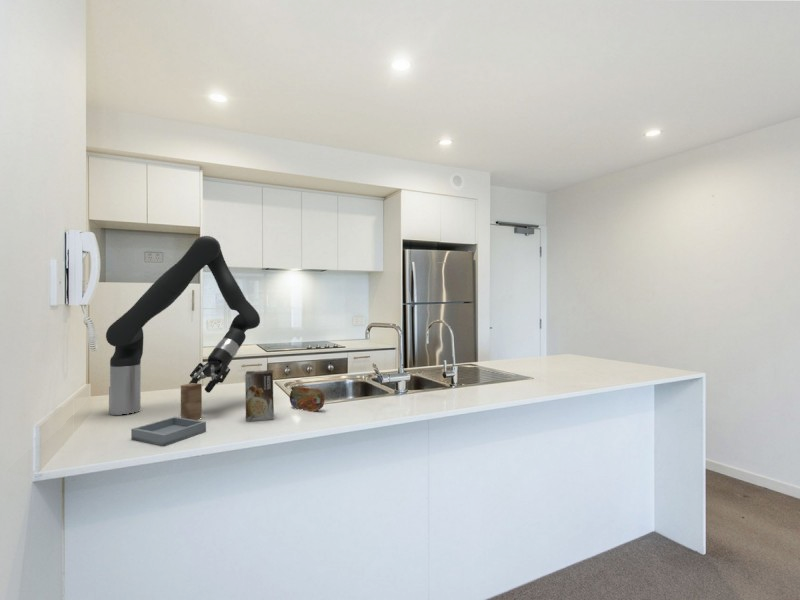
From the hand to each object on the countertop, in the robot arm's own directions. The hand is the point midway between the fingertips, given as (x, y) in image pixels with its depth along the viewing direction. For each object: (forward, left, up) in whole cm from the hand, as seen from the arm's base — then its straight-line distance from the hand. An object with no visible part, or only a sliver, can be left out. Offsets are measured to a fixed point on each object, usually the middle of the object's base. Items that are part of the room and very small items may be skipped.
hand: (197, 390), depth 142 cm
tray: (+8, -17, -10) cm, 21 cm away
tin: (+28, +24, -10) cm, 38 cm away
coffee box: (+20, +8, -10) cm, 24 cm away
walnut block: (0, -3, -10) cm, 10 cm away
